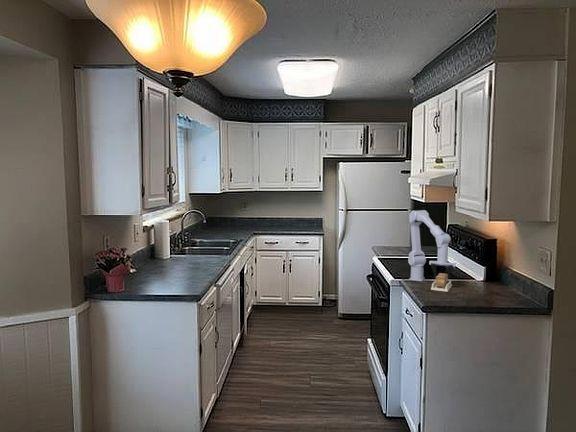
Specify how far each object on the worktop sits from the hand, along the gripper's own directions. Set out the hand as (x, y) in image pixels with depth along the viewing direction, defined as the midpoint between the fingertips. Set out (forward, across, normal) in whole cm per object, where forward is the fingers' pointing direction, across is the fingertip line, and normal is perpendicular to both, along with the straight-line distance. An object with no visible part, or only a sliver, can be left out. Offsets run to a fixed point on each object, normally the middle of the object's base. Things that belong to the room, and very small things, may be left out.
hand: (441, 277), depth 262 cm
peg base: (+6, 0, 0) cm, 6 cm away
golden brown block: (+4, 0, 0) cm, 4 cm away
